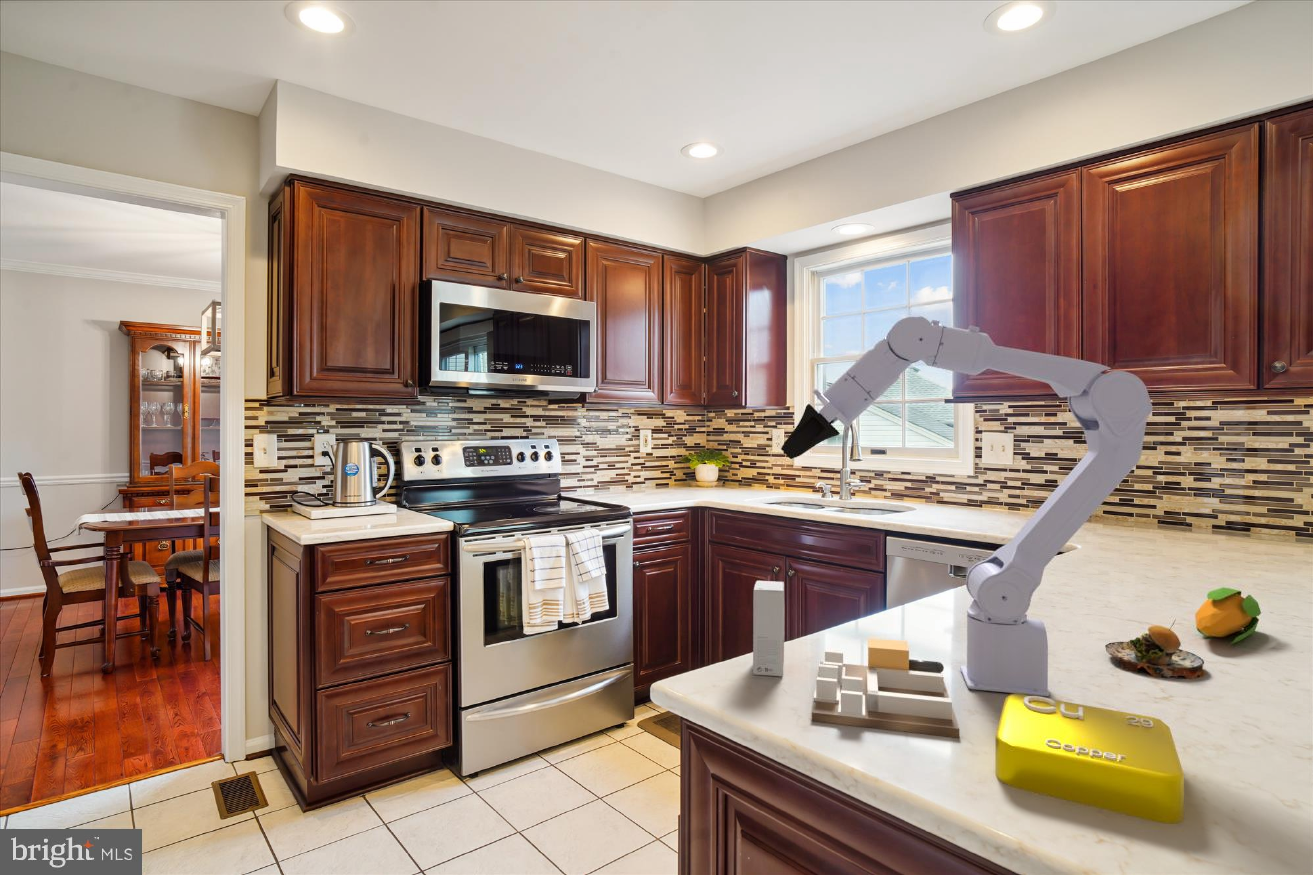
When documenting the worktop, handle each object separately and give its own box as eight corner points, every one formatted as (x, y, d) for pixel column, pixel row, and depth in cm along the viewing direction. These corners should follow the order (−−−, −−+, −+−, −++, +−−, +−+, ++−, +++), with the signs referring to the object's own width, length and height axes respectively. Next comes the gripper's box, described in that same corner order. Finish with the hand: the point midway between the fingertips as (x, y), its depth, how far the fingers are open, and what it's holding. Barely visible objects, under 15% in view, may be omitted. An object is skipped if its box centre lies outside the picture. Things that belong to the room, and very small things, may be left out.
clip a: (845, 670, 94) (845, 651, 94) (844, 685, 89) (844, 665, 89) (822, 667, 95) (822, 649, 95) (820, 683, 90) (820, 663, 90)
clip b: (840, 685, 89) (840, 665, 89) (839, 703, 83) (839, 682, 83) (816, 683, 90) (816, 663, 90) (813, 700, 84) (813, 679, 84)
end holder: (942, 689, 87) (942, 673, 87) (951, 719, 78) (951, 702, 78) (866, 681, 90) (866, 666, 90) (867, 710, 81) (867, 693, 81)
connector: (941, 677, 91) (942, 644, 91) (945, 688, 88) (945, 653, 88) (868, 670, 94) (868, 638, 94) (868, 681, 90) (868, 647, 90)
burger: (1147, 649, 106) (1148, 601, 106) (1227, 676, 95) (1228, 622, 95) (1084, 656, 104) (1084, 606, 103) (1158, 684, 92) (1158, 629, 92)
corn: (1265, 584, 115) (1237, 604, 102) (1269, 630, 115) (1241, 656, 102) (1209, 580, 121) (1176, 598, 108) (1213, 623, 120) (1180, 647, 108)
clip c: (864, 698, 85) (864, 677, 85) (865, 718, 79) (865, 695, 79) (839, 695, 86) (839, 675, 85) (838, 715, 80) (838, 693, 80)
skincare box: (783, 677, 95) (783, 590, 94) (752, 675, 95) (752, 589, 95) (784, 662, 101) (784, 581, 100) (755, 660, 101) (755, 579, 101)
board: (941, 679, 93) (941, 672, 93) (959, 737, 76) (959, 728, 76) (820, 668, 98) (820, 661, 98) (811, 720, 81) (811, 712, 81)
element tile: (993, 785, 67) (993, 736, 67) (1006, 727, 79) (1006, 686, 79) (1187, 832, 59) (1187, 776, 59) (1167, 759, 72) (1167, 713, 72)
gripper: (840, 371, 104) (775, 433, 107) (837, 361, 90) (762, 433, 93) (874, 404, 103) (807, 466, 105) (876, 399, 89) (799, 471, 92)
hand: (788, 453), depth 99 cm, fingers open, 7 cm apart
